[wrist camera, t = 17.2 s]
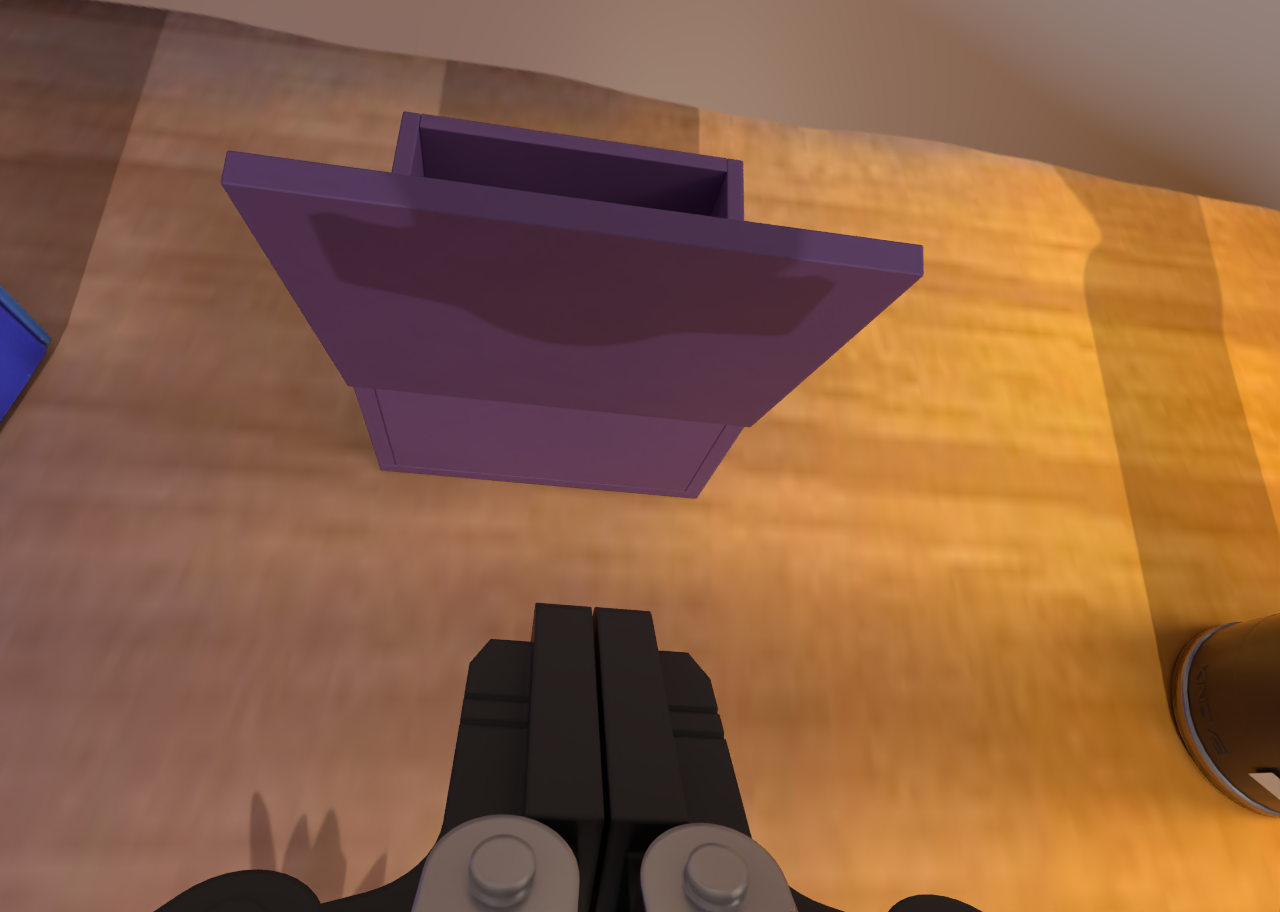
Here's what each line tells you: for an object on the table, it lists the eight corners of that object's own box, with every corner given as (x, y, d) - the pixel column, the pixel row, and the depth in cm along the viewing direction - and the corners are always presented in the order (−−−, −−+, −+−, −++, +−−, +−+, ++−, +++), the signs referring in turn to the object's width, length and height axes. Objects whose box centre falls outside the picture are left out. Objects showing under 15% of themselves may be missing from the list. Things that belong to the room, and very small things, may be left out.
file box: (419, 239, 46) (403, 110, 37) (698, 274, 48) (743, 160, 39) (380, 470, 40) (350, 381, 32) (696, 498, 43) (747, 422, 34)
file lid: (226, 149, 18) (219, 182, 17) (924, 244, 20) (924, 275, 20) (350, 366, 32) (347, 386, 31) (751, 408, 34) (750, 427, 34)
